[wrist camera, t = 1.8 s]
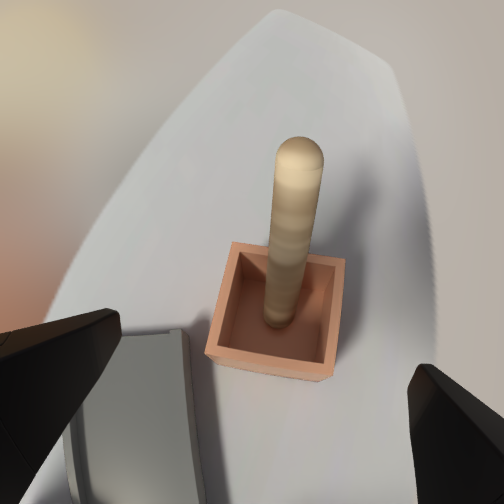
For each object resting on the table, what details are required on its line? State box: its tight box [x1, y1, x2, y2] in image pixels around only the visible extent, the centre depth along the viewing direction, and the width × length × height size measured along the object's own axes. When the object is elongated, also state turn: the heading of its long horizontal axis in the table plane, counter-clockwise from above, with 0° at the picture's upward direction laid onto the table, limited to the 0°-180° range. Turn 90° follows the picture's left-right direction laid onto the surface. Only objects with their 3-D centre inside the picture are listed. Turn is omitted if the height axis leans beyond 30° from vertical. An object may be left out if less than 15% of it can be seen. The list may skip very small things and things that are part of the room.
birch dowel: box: [263, 137, 324, 329], centre depth 17 cm, size 6×2×12 cm, turn 169°
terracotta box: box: [204, 242, 346, 382], centre depth 20 cm, size 7×7×5 cm
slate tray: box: [62, 329, 207, 504], centre depth 17 cm, size 18×10×2 cm, turn 7°
